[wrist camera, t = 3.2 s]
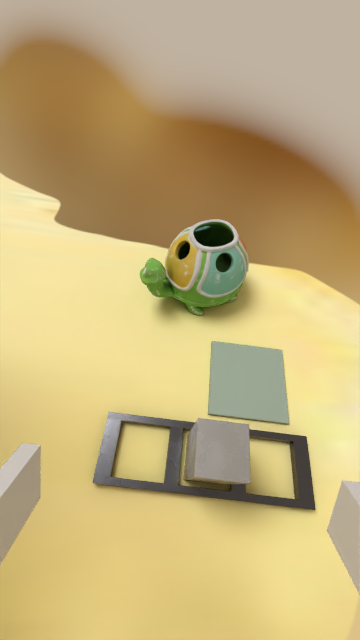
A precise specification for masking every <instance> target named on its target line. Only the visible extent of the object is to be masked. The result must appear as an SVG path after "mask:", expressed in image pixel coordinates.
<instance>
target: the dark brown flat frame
mask: <svg viewBox="0 0 360 640" xmlns="http://www.w3.org/2000/svg"><path fill="white" fill-rule="evenodd" d="M122 422H127V423H135V424H144V425H152V426H160V427H168V428H170V435H169V444H168V453H167V461H166V470H165V479H164V483H155V482H147V481H139V480H131V479H122V478H114V477H111V475H112V470H113V465H114V460H115V455H116V450H117V445H118V440H119V436H120V431H121V426H122ZM194 424H195V423H194V422H186V421H178V420H170V419H162V418H154V417H146V416H138V415H130V414H121V413H113V412H109V413H108V418H107V422H106V426H105V431H104V435H103V439H102V444H101V448H100V452H99V457H98V461H97V465H96V470H95V474H94V479H93V483H96V484H105V485H113V486H121V487H129V488H138V489H146V490H154V491H163V492H171V493H179V494H187V495H196V496H204V497H212V498H221V499H229V500H237V501H245V502H254V503H262V504H270V505H279V506H287V507H295V508H303V509H312V510H315V502H314V494H313V486H312V478H311V470H310V461H309V453H308V445H307V437H306V436H299V435H291V434H283V433H274V432H266V431H258V430H250V429H249V438H257V439H265V440H273V441H281V442H289V443H290V452H291V462H292V473H293V484H294V494H295V499H287V498H279V497H271V496H263V495H254V494H246V491H245V484H230V491H221V490H213V489H205V488H197V487H188V486H180V485H178V478H179V467H180V456H181V446H182V435H183V429H184V430H191V429H192V427H193V426H194Z"/></svg>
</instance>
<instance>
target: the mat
mask: <svg viewBox="0 0 360 640" xmlns="http://www.w3.org/2000/svg"><path fill="white" fill-rule="evenodd" d="M208 414H209V415H217V416H225V417H233V418H241V419H249V420H257V421H265V422H273V423H281V424H289V417H288V407H287V396H286V386H285V375H284V365H283V354H282V350H279V349H271V348H263V347H255V346H248V345H240V344H232V343H224V342H216V341H212V344H211V364H210V384H209V404H208Z"/></svg>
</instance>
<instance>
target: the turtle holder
mask: <svg viewBox="0 0 360 640" xmlns="http://www.w3.org/2000/svg"><path fill="white" fill-rule="evenodd" d="M248 263H249V262H248V255H247V251H246V247H245V244H244V243H243V241H242V240H241V239H240V237H239V236H238V233H237V231H236V229H235V228H234V227H233V226H232V225H231V224H230V223H229V222H227V221H224V220H218V219H215V220H207V221H202V222H199V223H197V224H195V225H193V226H192V227H188V228H186V229H185V230H183V231H182V232H181V233H180V234H179V235H178V236H177V237H176V239H175V240H174V241H173V242H172V244H171V246H170V248H169V250H168V253H167V256H166V260H165V268H164V267H163V265H162V264H161V263H160V262H159V261H157V260H156V259H154V258H150V259H149V260H148V261H147V262H146V264H145V267H144V268H143V269H142V270H141V271H140V278H141V280H142V282H143V283H144V284H145V285H147V287H148V289H149V291H150V292H151V293H152V294H153V295H155V296H156V297H173V298H175V299H177V300H179V301H181V302H183V303H186V306H187V308H188V310H189V311H190V312H191V313H193V314H195V315H202V314H203V313H204V312H203V310H202V308H200V307H210V306H216V305H220V304H223V303H225V302H232V301H234V300H236V299H237V295H236V294H237V293H238V292H239V290H240V288H241V286H242V282H243V280H244V278H245V276H246V272H247V271H248ZM164 280H165V281H164Z"/></svg>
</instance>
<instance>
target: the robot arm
mask: <svg viewBox="0 0 360 640" xmlns="http://www.w3.org/2000/svg"><path fill="white" fill-rule="evenodd" d="M39 499H40V445H36V444H27V443H22V444H21V445H20V447H19V448H18V449H17V450H16V451H15V452H14V454H13V455H12V456H11V457H10V458H9V459H8V461H7V462H6V463H5V464H4V465H3V466H2V467H1V469H0V564H1V562H2V561H3V559H4V557H5V556H6V554H7V552H8V551H9V549H10V547H11V546H12V544H13V542H14V541H15V539H16V537H17V536H18V534H19V532H20V531H21V529H22V527H23V526H24V524H25V522H26V521H27V519H28V517H29V516H30V514H31V512H32V510H33V509H34V507H35V505H36V504H37V502H38V500H39ZM327 532H328V534H329V536H330V538H331V540H332V542H333V544H334V546H335V548H336V550H337V551H338V553H339V555H340V557H341V559H342V561H343V563H344V565H345V567H346V569H347V571H348V573H349V575H350V577H351V579H352V581H353V583H354V585H355V587H356V589H357V591H358V593H359V595H360V482H352V481H343V480H342V483H341V486H340V489H339V493H338V496H337V499H336V502H335V506H334V509H333V512H332V515H331V519H330V522H329V525H328V528H327Z"/></svg>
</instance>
